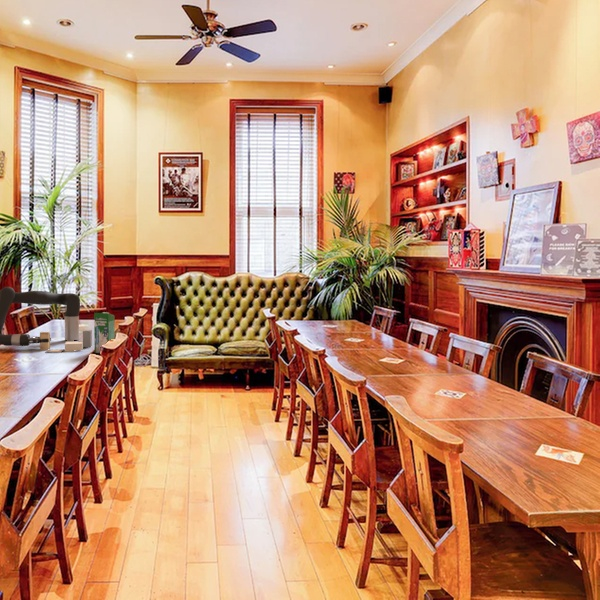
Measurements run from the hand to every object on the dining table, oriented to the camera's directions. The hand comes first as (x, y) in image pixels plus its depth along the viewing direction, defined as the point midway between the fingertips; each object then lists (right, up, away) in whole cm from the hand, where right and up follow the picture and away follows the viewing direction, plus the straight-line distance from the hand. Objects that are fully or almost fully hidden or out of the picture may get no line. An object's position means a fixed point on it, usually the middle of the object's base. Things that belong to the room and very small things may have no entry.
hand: (49, 339), depth 349 cm
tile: (+7, -7, -7) cm, 12 cm away
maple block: (-3, -6, 0) cm, 7 cm away
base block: (+15, -7, 0) cm, 17 cm away
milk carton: (+37, -7, -5) cm, 38 cm away
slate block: (+19, -6, +12) cm, 24 cm away
